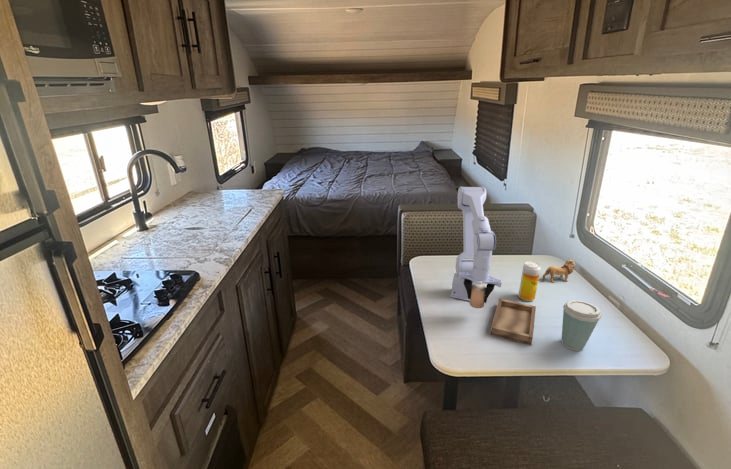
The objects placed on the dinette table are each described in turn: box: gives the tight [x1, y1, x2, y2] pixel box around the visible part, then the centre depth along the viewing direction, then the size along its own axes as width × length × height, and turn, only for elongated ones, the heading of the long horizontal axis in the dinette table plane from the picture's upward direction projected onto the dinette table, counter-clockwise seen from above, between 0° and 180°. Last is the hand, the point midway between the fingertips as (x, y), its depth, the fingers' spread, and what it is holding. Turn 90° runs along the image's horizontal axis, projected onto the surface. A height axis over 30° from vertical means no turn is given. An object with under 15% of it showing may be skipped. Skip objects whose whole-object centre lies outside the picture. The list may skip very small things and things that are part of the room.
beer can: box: [518, 260, 541, 302], centre depth 146 cm, size 6×6×15 cm
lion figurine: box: [541, 259, 576, 284], centre depth 161 cm, size 15×5×9 cm, turn 104°
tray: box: [490, 298, 537, 346], centre depth 133 cm, size 13×20×3 cm, turn 155°
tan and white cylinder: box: [469, 284, 486, 309], centre depth 134 cm, size 5×5×7 cm
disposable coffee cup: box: [561, 299, 602, 352], centre depth 120 cm, size 11×11×15 cm
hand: (477, 299), depth 134 cm, fingers closed on tan and white cylinder, 5 cm apart
